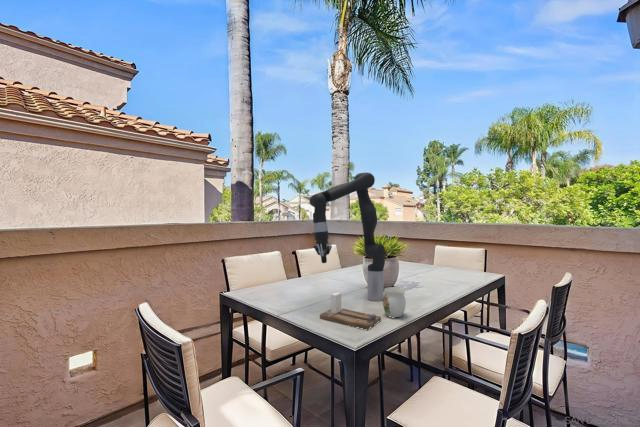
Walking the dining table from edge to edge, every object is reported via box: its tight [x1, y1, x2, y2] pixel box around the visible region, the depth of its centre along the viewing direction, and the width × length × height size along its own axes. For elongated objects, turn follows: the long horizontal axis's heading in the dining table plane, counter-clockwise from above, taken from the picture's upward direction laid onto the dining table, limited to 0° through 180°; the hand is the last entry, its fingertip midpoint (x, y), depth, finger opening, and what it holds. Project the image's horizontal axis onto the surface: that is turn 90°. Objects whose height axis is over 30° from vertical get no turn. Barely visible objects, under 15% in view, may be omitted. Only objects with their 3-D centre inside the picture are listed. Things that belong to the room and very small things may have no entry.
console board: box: [319, 307, 382, 330], centre depth 151 cm, size 14×26×4 cm, turn 55°
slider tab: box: [330, 292, 342, 314], centre depth 156 cm, size 5×3×9 cm, turn 145°
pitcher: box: [382, 286, 406, 318], centre depth 157 cm, size 11×18×14 cm, turn 15°
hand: (324, 262), depth 167 cm, fingers closed
